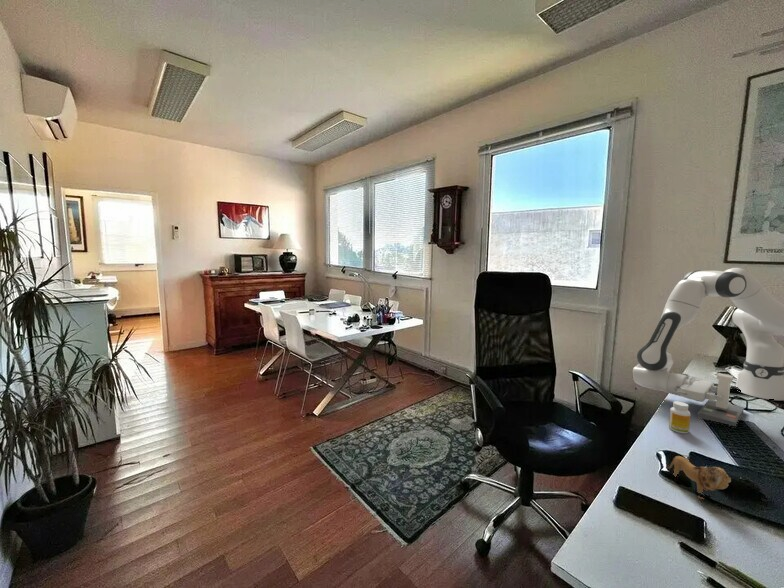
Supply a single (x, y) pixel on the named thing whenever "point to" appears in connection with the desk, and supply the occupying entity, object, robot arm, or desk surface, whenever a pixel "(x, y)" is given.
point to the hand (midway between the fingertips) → (725, 395)
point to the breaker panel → (721, 413)
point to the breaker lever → (723, 390)
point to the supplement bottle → (679, 417)
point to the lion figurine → (701, 475)
